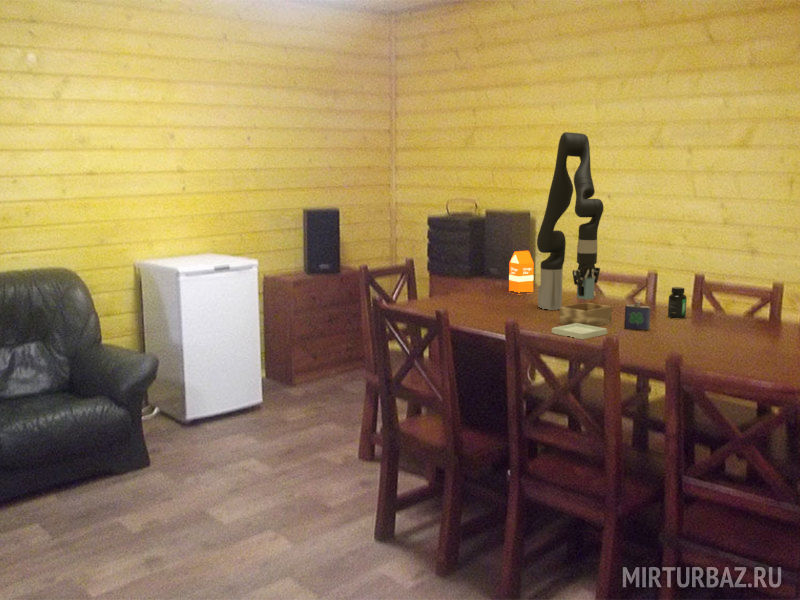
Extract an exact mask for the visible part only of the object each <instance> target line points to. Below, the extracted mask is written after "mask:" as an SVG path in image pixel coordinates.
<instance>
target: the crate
mask: <svg viewBox="0 0 800 600" xmlns="http://www.w3.org/2000/svg"><path fill="white" fill-rule="evenodd" d="M612 309H613V307H612V305H611V306H610V305H604V304H598V303H591V302H580V303H576V304H569V305H564V306H563V305H562V307H560V309H559V324H560V323H561V325H565V324H566V325H569V324H575V323H579V324H585V325H590V326H595V327H601V326H604V324H605V325H608V324H612V314H613V313H612V311H613V310H612Z"/></svg>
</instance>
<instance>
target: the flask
mask: <svg viewBox="0 0 800 600" xmlns="http://www.w3.org/2000/svg"><path fill="white" fill-rule="evenodd" d="M651 309H652V308H651V306H646V305H645V306H643V305H641V301H635V304H631V303H629V304H626V305H625V307H624V322H623V323H624V325H623V326H624V327H623V329H624V330H628V329H630V330H631V331H639V330H645V331H644V332H649V331H650V329H651V328H650V325H651V324H650V323H651ZM648 330H649V331H648Z"/></svg>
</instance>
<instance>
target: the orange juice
mask: <svg viewBox="0 0 800 600" xmlns="http://www.w3.org/2000/svg"><path fill="white" fill-rule="evenodd" d="M508 265H509V273H508V292H509V291H514V292H518V293H520V292H533V293H534V265H535V263H534V260H533V258H532V255H531V253H530V251H529V250H518V251H516V250H515V251H514V252H513V254H512V256H511V259H510V260H509V264H508Z"/></svg>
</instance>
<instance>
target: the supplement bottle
mask: <svg viewBox="0 0 800 600" xmlns="http://www.w3.org/2000/svg"><path fill="white" fill-rule="evenodd" d="M687 298H688V297H687V295H686V294H685V287H681V286H673V287H671V294H669V295H668V303H667V307H668V308H667V317H668V318H669V317H670V319H672V318H684V319H686V316H687Z"/></svg>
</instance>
